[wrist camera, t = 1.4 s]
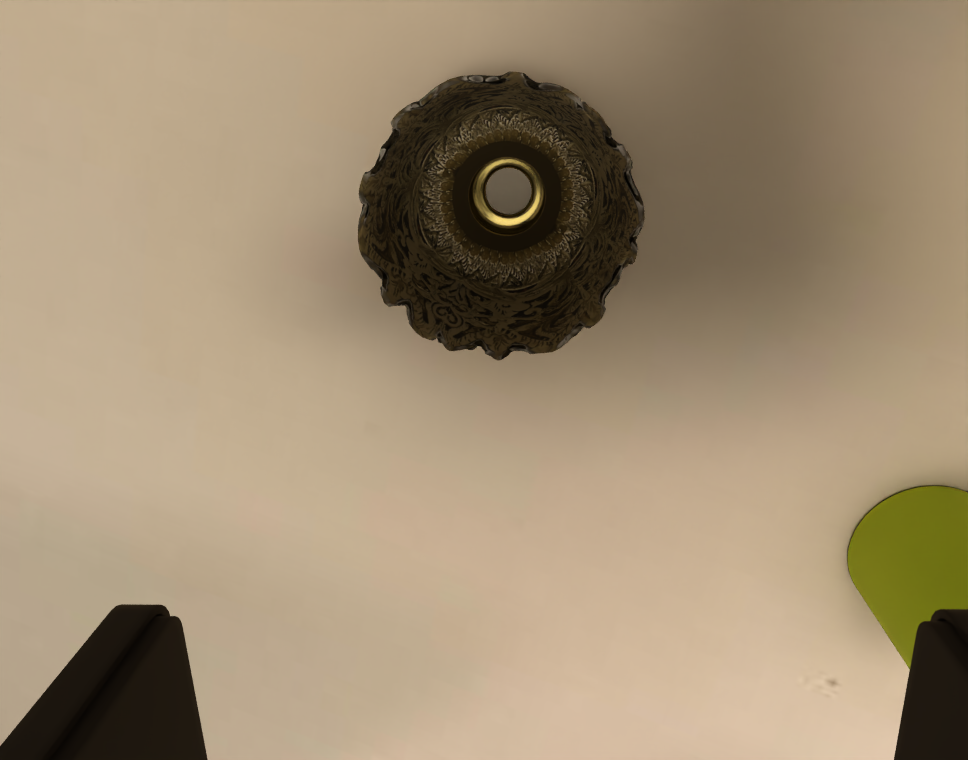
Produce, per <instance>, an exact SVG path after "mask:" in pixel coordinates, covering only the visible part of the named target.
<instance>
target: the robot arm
mask: <svg viewBox="0 0 968 760" xmlns="http://www.w3.org/2000/svg"><path fill="white" fill-rule="evenodd" d="M0 760H207V755H206V749H205V744H204V739H203V733H202V728H201V723H200V717H199V712H198V707H197V701H196V696H195V691H194V685H193V680H192V675H191V669H190V664H189V659H188V653H187V648H186V643H185V637H184V632H183V627H182V623H181V621H180V619H179V618H178V617H176V616H170V614H169V611H168V610H167V608H166V607H165V606H163V605H118V606H116V607H115V608H114V609H112V610H111V611H110V613H109V614H108V615H107V616H106V618H105V619H104V620H103V621H102V622H101V624H100V625H99V626H98V627H97V629H96V630H95V631H94V632H93V633H92V635H91V636H90V637H89V638H88V640H87V641H86V642H85V643H84V644H83V646H82V647H81V648H80V649H79V651H78V652H77V653H76V654H75V655H74V657H73V658H72V659H71V660H70V662H69V663H68V664H67V665H66V666H65V668H64V669H63V670H62V671H61V673H60V674H59V675H58V676H57V677H56V679H55V680H54V681H53V682H52V684H51V685H50V686H49V687H48V688H47V690H46V691H45V692H44V693H43V695H42V696H41V697H40V698H39V699H38V701H37V702H36V703H35V704H34V706H33V707H32V708H31V709H30V710H29V712H28V713H27V714H26V715H25V717H24V718H23V719H22V720H21V721H20V723H19V724H18V725H17V726H16V728H15V729H14V730H13V731H12V732H11V734H10V735H9V736H8V737H7V739H6V740H5V741H4V742H3V743H2V745H1V746H0ZM894 760H968V609H939V610H937V611H935V612H934V614H933V615H932V617H931V620H930V621H924V622H921V623H920V624H919V626H918V629H917V632H916V638H915V644H914V649H913V655H912V660H911V666H910V672H909V677H908V683H907V689H906V694H905V700H904V706H903V711H902V717H901V723H900V728H899V734H898V740H897V745H896V751H895V757H894Z"/></svg>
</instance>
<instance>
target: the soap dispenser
mask: <svg viewBox="0 0 968 760" xmlns="http://www.w3.org/2000/svg"><path fill="white" fill-rule="evenodd" d="M848 568H849V573H850V576H851V578H852V581H853V583H854V585H855V586H856V588H857V589H858V591H859V592H860V594H861V595H862V597H863V599H864V600H865V602H866V603H867V605H868V606H869V608H870V609H871V611H872V612H873V614H874V615H875V617H876V618H877V620H878V621H879V623H880V625H881V626H882V628H883V629H884V631H885V632H886V634H887V635H888V637H889V638H890V640H891V641H892V643H893V644H894V646H895V647H896V649H897V651H898V652H899V654H900V655H901V657H902V658H903V660H904V661H905V663H906V664H907V666H908V667H909V669H910V666H911V660H912V655H913V649H914V644H915V638H916V632H917V629H918V626H919V624H920V623H921V622H924V621H930V620H931V617H932V615H933V614H934V612H935V611H937V610H939V609H968V493H967V492H965V491H962V490H959V489H955V488H951V487H944V486H926V487H919V488H914V489H910V490H906V491H903V492H901V493H898V494H896V495H894V496H892V497H890V498H888V499H886V500H884V501H883V502H881V503H880V504H879V505H877V506H876V507H875V508H873V509H872V510H871V511H870V512H869V513H868V514H867V515H866V516H865V517H864V518H863V520H862V521H861V522H860V524H859V525H858V527H857V528H856V530H855V532H854V534H853V536H852V539H851V541H850V545H849V549H848Z"/></svg>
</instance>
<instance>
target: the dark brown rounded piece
mask: <svg viewBox="0 0 968 760" xmlns="http://www.w3.org/2000/svg"><path fill="white" fill-rule="evenodd" d="M391 125H392V127H393V128H392V131H393V132H392V134H391V136H390V137H389V139H388V140H387V141H386V143H385V144H384V145H383V146H382V147H381V150H380V154H379V157H378V159H377V161H376V164H375V166H374V167H373V168H372V169H371V170H370V171H369V172H365V173H364V175H363V178H362V181H361V184H360V188H359V199H360V201H361V203H362V204H363V207H362V212H361V215H360V218H359V224H358V243H359V249H360V252H361V255H362V257H363V258H364V260H365V261H366V263H367V264H368V265H369V267H370V268H371V269H372V270H374V271H375V272H376V273H377V275H378V276H379V277H380V278H381V279H382V286H381V296H382V298H383V301H384V303H385V304H386V305H387V306H389V307H391V306H396V305H398V306H400V305H406V307H407V316H408V320H409V324H410V326H411V327H412V328H413V329H414V331H415V332H416V333H417V334H419V335H420V336H421V337H423V338H426V339H429V340H434V339H436V338H437V339H438V342H439V343H442V344H443V345H444V347H445V348H446V349H447V350H449V351H457V350H463V349H468V350H473V349H475V348H476V347H477V346H481V347H482V349H483V350H484V351H485V354H487V355H489V356H491V357H493V358H494V359H496V360H502V359H504V358H505V357H506V356H508V355H509V354H510V353H511V352H512V351H526V352H528V353H529V354H537V353H548V352H553V351H555V350H557V349H559V348H561V347H562V346H563V345H565V344H566V343H567V342H568V341H569V340H570V339H571V338H572V337H574V336H576V335H577V334H578V332H580V331H581V329H582V328H583V327H586V328H591V327H592V326H594V325H595V324H596V323H597V322H599V321H600V320H601V318H602V317H603V315H604V313H605V311H606V308H605V306H604V304H605V298H606V296H607V295H608V293H609V292H610V290H611V289H612V288H613V287H614V286H616V285H617V284H618V282H619V279H620V275H621V272H622V270H623V268H624V267H627V266H628V264H630V265H632V264H633V263H634V262H635V259H636V256H637V250H638V249H637V243H636V239H637V236H638V235H639V233H640V231H641V229H642V227H643V225H644V218H645V216H644V205H643V201H642V198H641V196H640V193H639V191H638V189H637V188H636V186H635V183H634V181H633V178H632V175H631V172H630V171H631V169H632V168H633V167H632V160H631V157H630V156H629V154H628V152H627V151H626V149H625V148H624V146H623V145H622V144H619V143H617V142H616V141H615V140H614V139H613V138H612V137H611V134H612V133H611V130H610V128H609V127H608V126H607V125H606V123H605V122H604V120H603V118H602V117H601V116H600V114H599V113H598V112H597V111H595V110H594V109H593V108H591V107H589V106H588V105H587V104H586V103H585V102H581V99H580V98H579V97H578V96H577V95H575V94H574V93H572V92H571V91H569V90H568V89H566V88H564V87H561V86H559V85H556V84H551V83H537V82H535V81H533V80H531V79H530V78H529V77H528V76H527V75H526V74H524V73H519V72H508V73H506V74H504V75H501V76H485V75H469V76H460V77H456V78H452V79H449V80H447V81H445V82H444V83H442V84H440V85H438V86H437V87H435V88H434V89H433V90H432V91H430V92H429V93H428V94H427V95H426V96H425V97H423V98H422V99H420V100H419V101H418V102H414V103H411V104H410V105H408V106H406V107H405V108H403V109H402V110H401V111H400V112H398V113H397V114H396V115H395V117H394V118H393V120H392V121H391ZM502 168H515V169H517V170H520V171H521V172H523V173H524V174H525V175H526V176H527V178H528V179H529V181H530V184H531V188H532V194H531V199H530V201H529V203H528V205H527V206H526V207H525V208H524V209H523V210H522V211H521V212H519V213H516V214H513V215H504V214H500V213H498V212H496V211H495V210H494V209H493V208H492V207H491V206H490V205H489V203H488V201H487V199H486V194H485V189H486V184H487V181H488V179H489V178H490V176H491V175H492V174H493V173H495V172H496V171H498V170H500V169H502Z"/></svg>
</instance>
